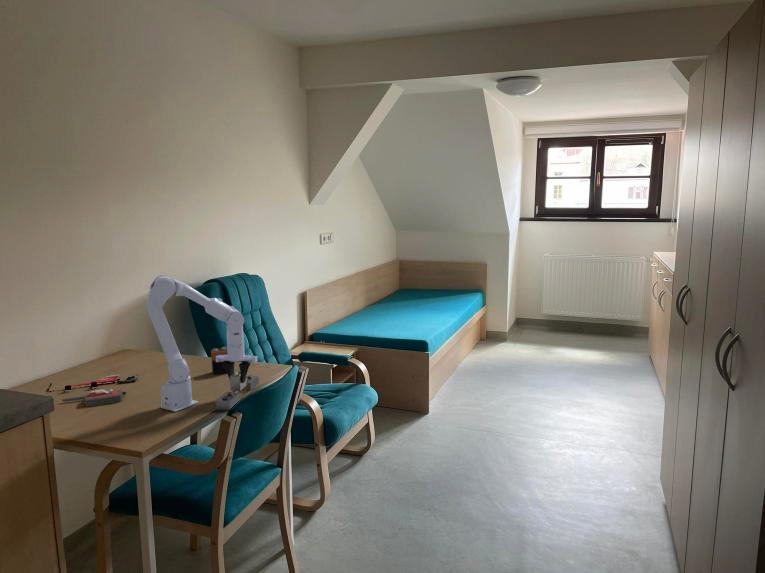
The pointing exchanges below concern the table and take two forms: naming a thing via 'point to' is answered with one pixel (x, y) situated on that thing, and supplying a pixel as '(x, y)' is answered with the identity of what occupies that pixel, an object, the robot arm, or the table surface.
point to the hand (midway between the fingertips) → (237, 381)
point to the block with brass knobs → (237, 381)
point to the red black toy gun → (103, 381)
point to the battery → (218, 366)
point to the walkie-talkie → (99, 397)
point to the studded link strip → (236, 394)
